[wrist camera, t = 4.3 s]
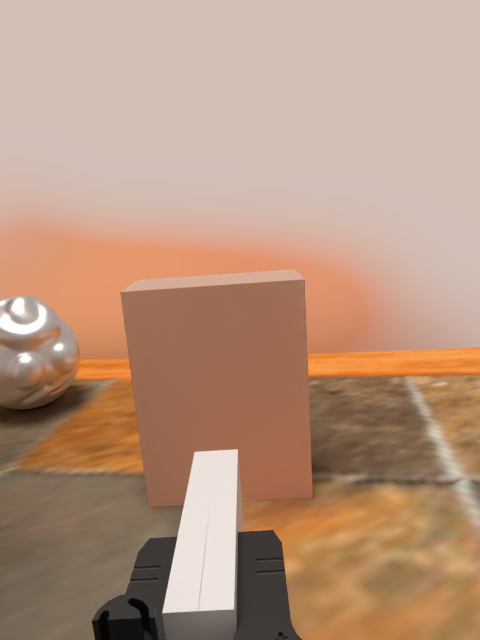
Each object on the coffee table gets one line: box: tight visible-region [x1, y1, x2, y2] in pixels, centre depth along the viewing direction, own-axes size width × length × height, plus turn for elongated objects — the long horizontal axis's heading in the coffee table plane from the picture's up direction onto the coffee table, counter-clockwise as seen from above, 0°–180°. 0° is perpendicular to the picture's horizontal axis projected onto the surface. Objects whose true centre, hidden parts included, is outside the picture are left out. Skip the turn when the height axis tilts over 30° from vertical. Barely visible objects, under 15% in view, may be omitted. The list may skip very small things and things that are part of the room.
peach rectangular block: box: [120, 269, 313, 507], centre depth 26 cm, size 4×9×12 cm, turn 90°
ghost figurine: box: [0, 296, 80, 409], centre depth 39 cm, size 9×10×10 cm
